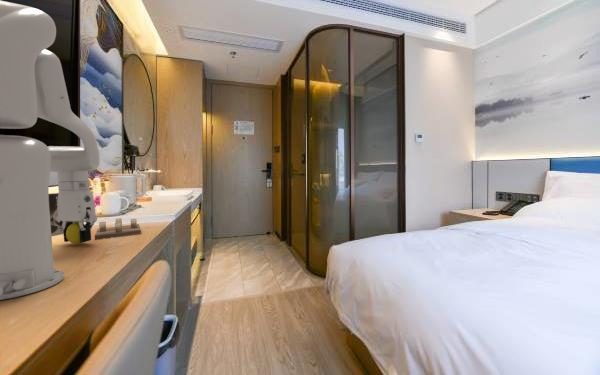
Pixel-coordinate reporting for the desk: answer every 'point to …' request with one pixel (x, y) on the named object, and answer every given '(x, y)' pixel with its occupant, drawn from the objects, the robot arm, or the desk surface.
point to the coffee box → (54, 215)
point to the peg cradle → (117, 229)
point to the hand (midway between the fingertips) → (77, 240)
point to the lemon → (74, 233)
